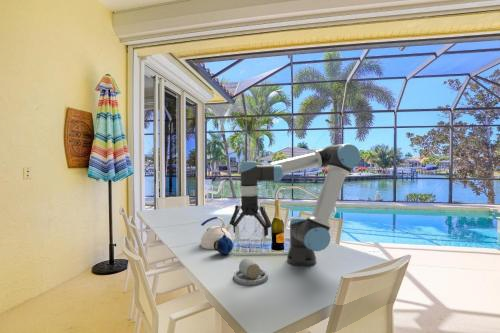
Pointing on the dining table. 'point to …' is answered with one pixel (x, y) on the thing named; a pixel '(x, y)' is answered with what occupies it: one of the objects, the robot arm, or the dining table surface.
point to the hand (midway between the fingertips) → (250, 241)
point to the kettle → (214, 233)
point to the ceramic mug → (250, 268)
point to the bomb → (223, 244)
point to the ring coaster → (244, 280)
